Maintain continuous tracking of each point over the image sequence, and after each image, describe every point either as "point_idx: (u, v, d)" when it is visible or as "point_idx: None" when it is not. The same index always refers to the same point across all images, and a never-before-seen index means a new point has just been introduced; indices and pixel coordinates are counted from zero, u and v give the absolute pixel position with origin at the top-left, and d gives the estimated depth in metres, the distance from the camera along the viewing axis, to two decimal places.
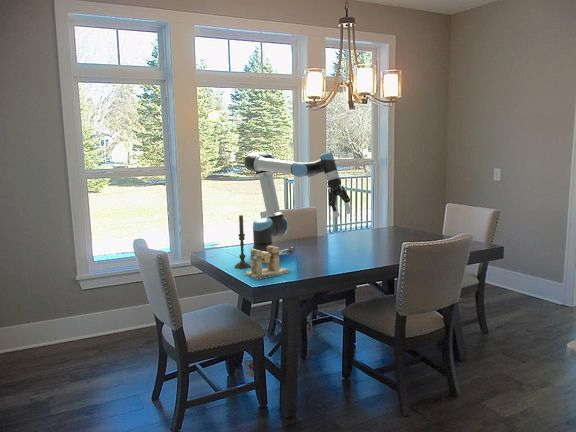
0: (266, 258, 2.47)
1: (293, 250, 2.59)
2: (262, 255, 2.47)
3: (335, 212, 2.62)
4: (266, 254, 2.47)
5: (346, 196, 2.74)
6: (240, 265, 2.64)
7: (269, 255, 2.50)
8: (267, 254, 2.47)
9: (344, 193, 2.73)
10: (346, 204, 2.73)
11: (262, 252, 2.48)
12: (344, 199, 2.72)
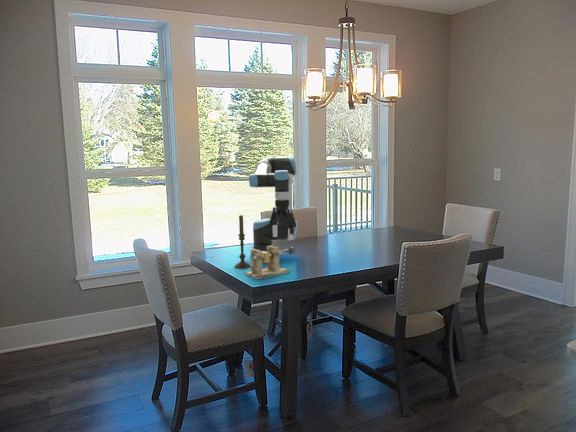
0: (266, 258, 2.47)
1: (293, 250, 2.59)
2: (262, 255, 2.47)
3: None
4: (266, 254, 2.47)
5: None
6: (240, 265, 2.64)
7: (269, 255, 2.50)
8: (267, 254, 2.47)
9: None
10: None
11: (262, 252, 2.48)
12: None
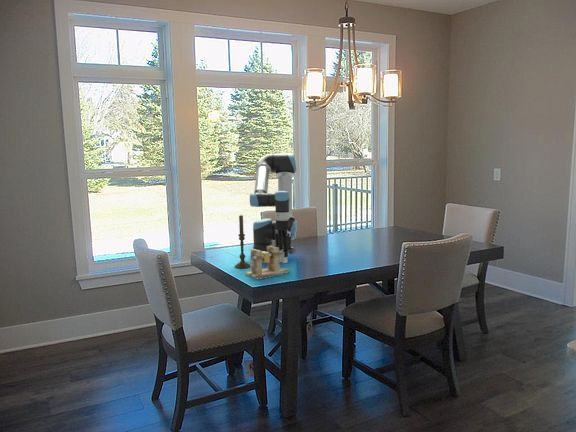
0: (266, 258, 2.47)
1: (293, 250, 2.59)
2: (262, 255, 2.47)
3: None
4: (266, 254, 2.47)
5: None
6: (240, 265, 2.64)
7: (269, 255, 2.50)
8: (267, 254, 2.47)
9: None
10: None
11: (262, 252, 2.48)
12: None
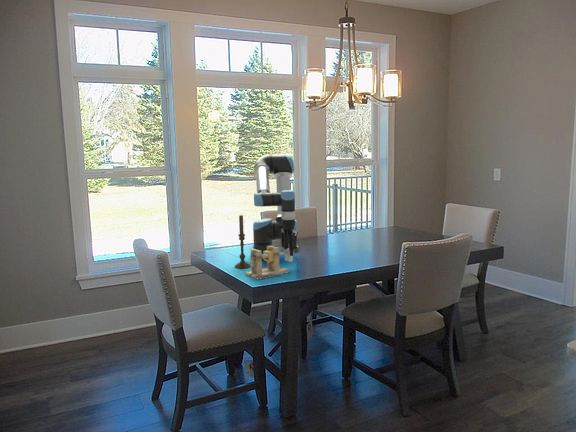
0: (270, 257, 2.49)
1: (298, 249, 2.62)
2: None
3: None
4: (270, 253, 2.48)
5: (292, 243, 2.55)
6: (240, 265, 2.64)
7: None
8: (271, 253, 2.49)
9: None
10: None
11: (266, 251, 2.50)
12: None
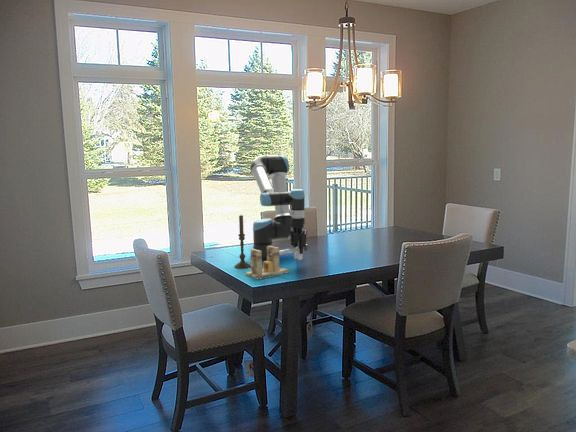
0: (270, 267, 2.49)
1: (308, 247, 2.66)
2: None
3: None
4: (270, 263, 2.49)
5: None
6: (240, 265, 2.64)
7: (285, 252, 2.56)
8: (271, 263, 2.50)
9: (302, 237, 2.59)
10: None
11: (266, 261, 2.51)
12: None
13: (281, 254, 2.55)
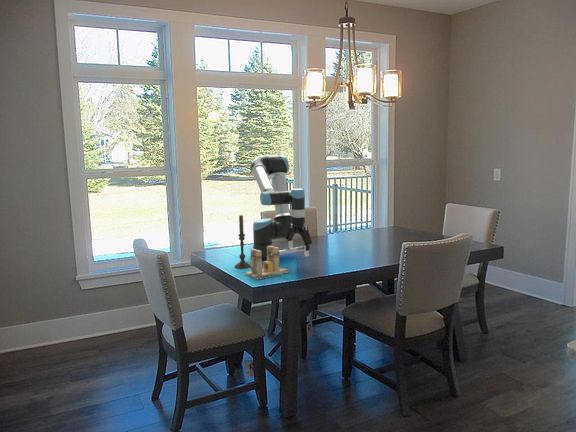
0: (270, 267, 2.49)
1: None
2: None
3: None
4: (270, 263, 2.49)
5: None
6: (240, 265, 2.64)
7: (285, 252, 2.56)
8: (271, 263, 2.50)
9: (305, 234, 2.57)
10: None
11: (266, 261, 2.51)
12: None
13: (281, 254, 2.55)
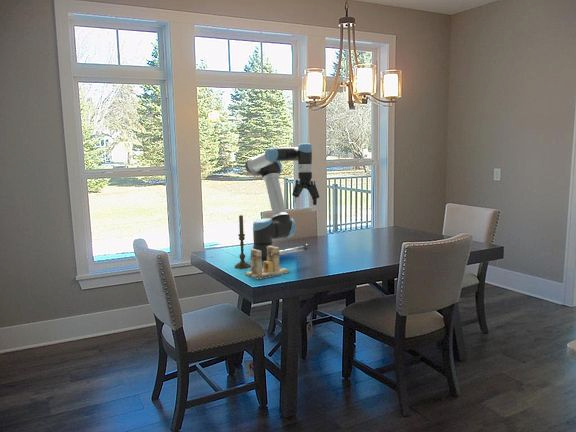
0: (270, 267, 2.49)
1: (308, 247, 2.66)
2: None
3: None
4: (270, 263, 2.49)
5: None
6: (240, 265, 2.64)
7: (285, 252, 2.56)
8: (271, 263, 2.50)
9: None
10: None
11: (266, 261, 2.51)
12: None
13: (281, 254, 2.55)
